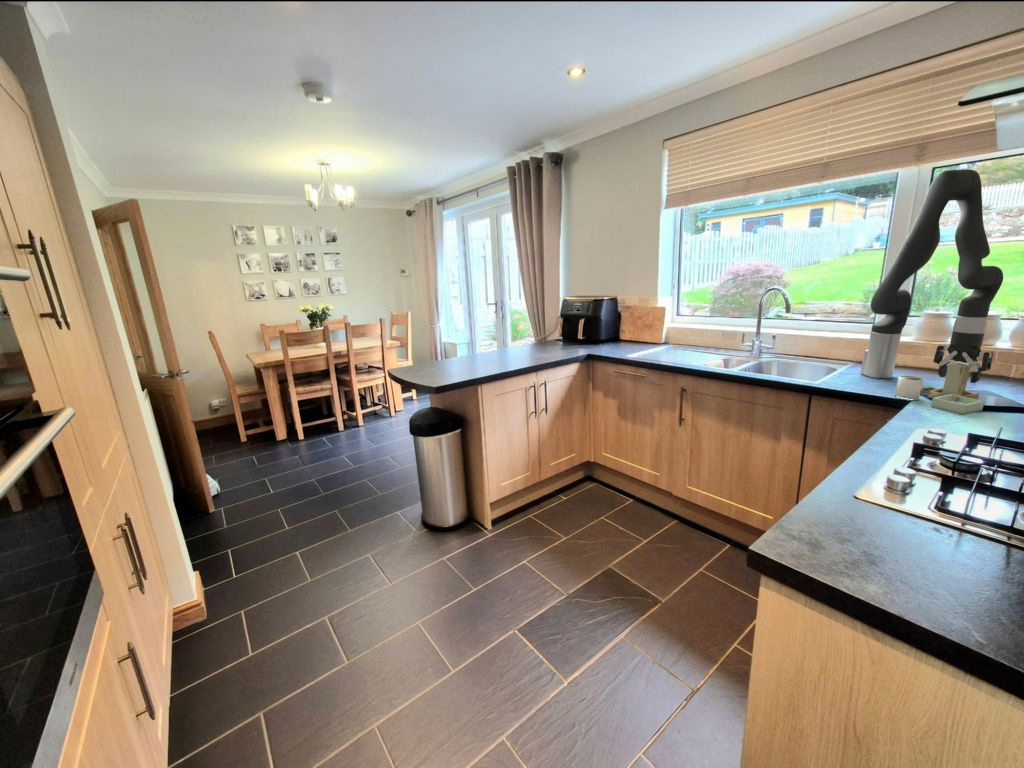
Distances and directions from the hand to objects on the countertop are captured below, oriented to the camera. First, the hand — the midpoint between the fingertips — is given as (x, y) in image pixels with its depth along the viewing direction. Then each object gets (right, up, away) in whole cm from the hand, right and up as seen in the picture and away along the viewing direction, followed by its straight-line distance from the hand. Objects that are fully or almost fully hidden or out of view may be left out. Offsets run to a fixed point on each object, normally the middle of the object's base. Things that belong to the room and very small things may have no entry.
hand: (957, 379), depth 157 cm
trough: (-6, -9, -6) cm, 13 cm away
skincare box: (0, -7, +2) cm, 7 cm away
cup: (-13, -6, +5) cm, 15 cm away
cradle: (-1, -6, +5) cm, 8 cm away
